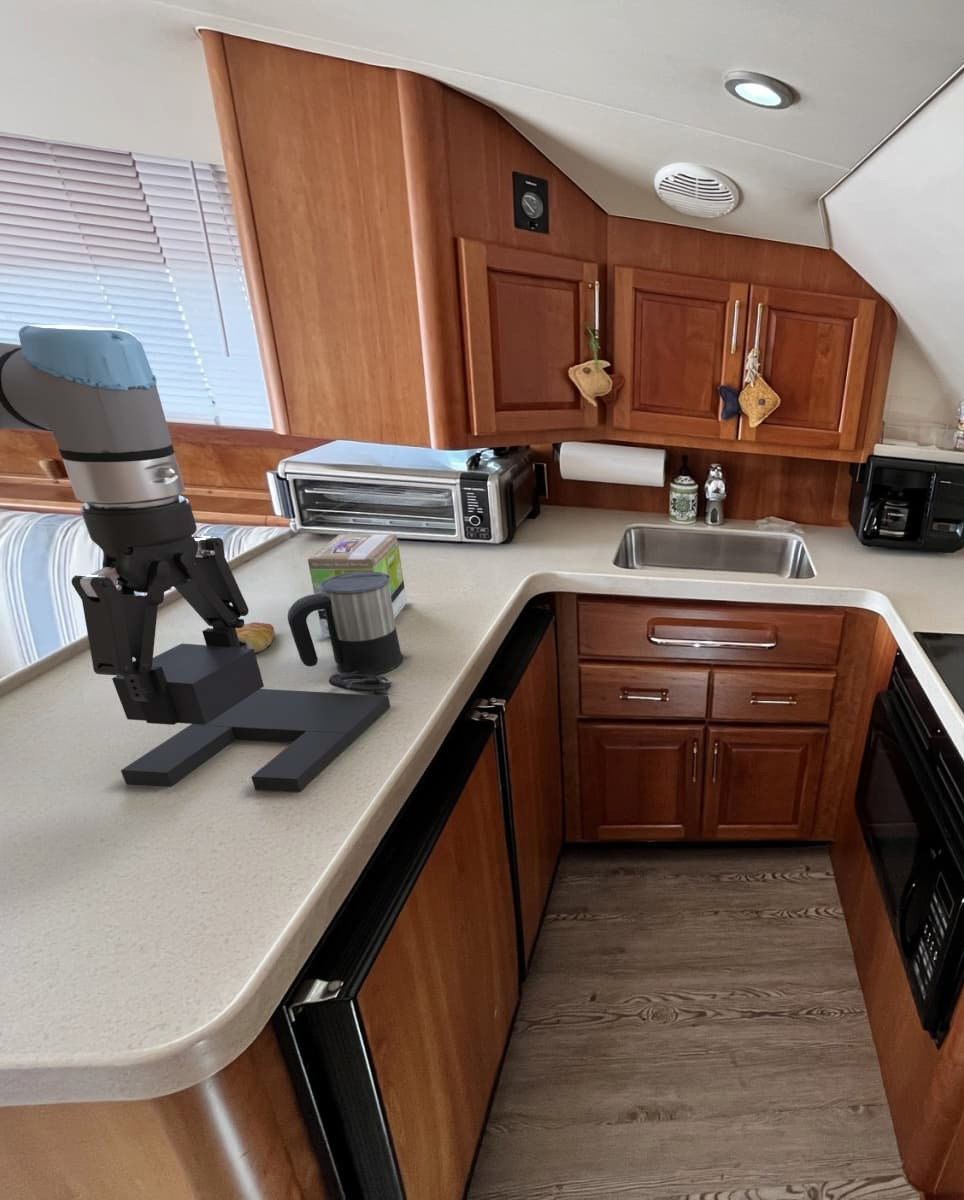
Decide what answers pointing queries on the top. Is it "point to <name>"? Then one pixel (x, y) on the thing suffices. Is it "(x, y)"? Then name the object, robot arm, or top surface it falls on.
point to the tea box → (359, 565)
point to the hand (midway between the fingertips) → (199, 699)
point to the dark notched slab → (268, 737)
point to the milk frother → (352, 629)
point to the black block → (201, 681)
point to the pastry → (255, 636)
